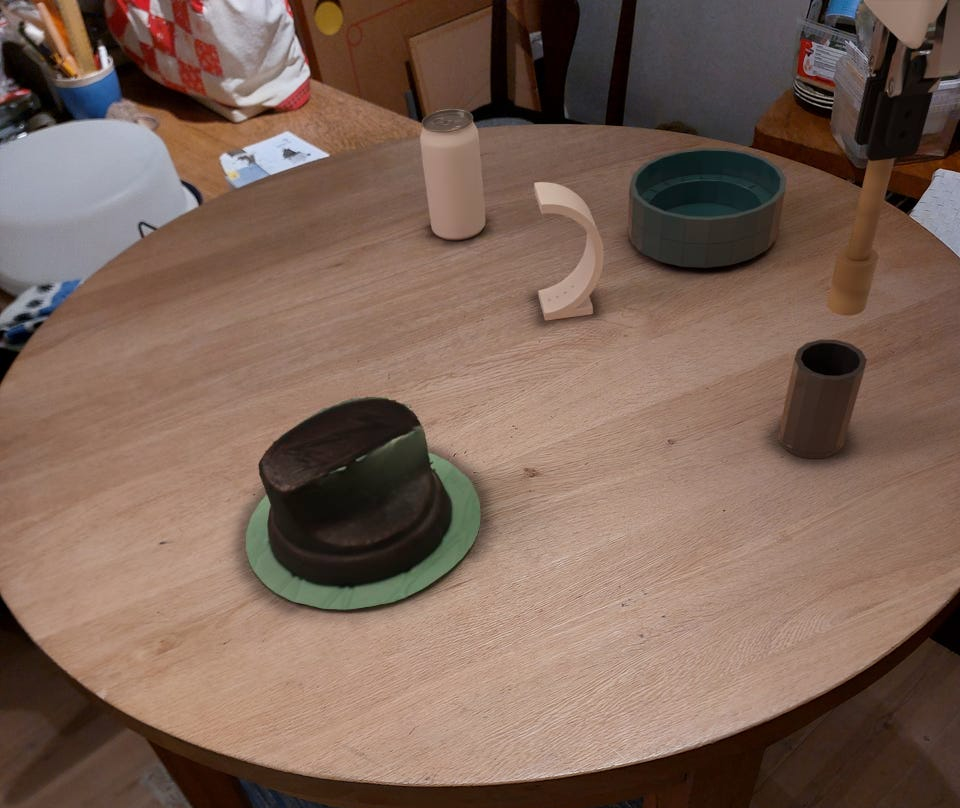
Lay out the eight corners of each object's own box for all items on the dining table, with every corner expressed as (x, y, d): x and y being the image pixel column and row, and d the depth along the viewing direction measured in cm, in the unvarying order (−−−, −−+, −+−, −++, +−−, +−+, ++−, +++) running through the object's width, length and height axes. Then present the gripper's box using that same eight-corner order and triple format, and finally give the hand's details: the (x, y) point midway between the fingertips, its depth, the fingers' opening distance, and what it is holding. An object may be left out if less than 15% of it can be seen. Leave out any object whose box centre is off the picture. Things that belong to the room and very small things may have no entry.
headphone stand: (538, 297, 96) (533, 182, 87) (594, 289, 96) (596, 173, 87) (544, 320, 93) (540, 204, 84) (602, 313, 93) (605, 196, 84)
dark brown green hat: (366, 405, 85) (535, 489, 76) (263, 574, 85) (422, 677, 76) (275, 319, 71) (469, 409, 63) (153, 519, 71) (331, 637, 63)
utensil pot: (832, 415, 80) (853, 335, 74) (852, 455, 76) (876, 375, 70) (771, 422, 80) (787, 342, 74) (787, 462, 76) (806, 382, 70)
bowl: (756, 194, 106) (764, 140, 101) (793, 265, 95) (804, 209, 91) (618, 210, 106) (619, 157, 101) (640, 282, 96) (643, 227, 91)
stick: (858, 293, 69) (921, 43, 56) (870, 313, 68) (938, 60, 54) (822, 297, 70) (876, 48, 56) (833, 317, 68) (891, 65, 55)
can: (468, 246, 104) (457, 136, 95) (421, 236, 106) (406, 128, 97) (495, 220, 107) (487, 111, 98) (449, 211, 110) (437, 104, 100)
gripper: (1131, -214, 40) (990, 197, 55) (988, -266, 50) (900, 94, 65) (961, -190, 41) (865, 213, 55) (852, -247, 50) (794, 108, 65)
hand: (884, 147), depth 60 cm, fingers closed on stick, 1 cm apart
